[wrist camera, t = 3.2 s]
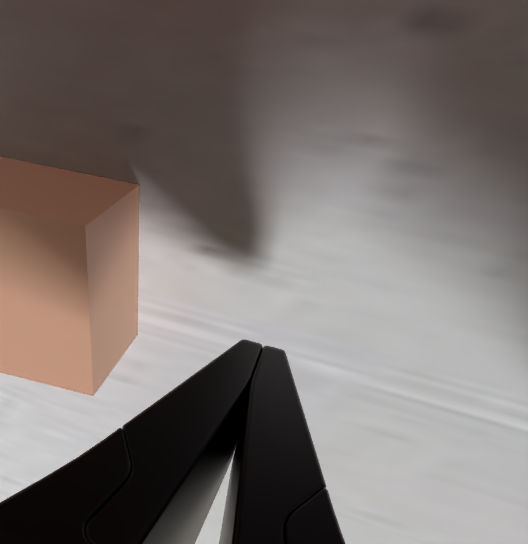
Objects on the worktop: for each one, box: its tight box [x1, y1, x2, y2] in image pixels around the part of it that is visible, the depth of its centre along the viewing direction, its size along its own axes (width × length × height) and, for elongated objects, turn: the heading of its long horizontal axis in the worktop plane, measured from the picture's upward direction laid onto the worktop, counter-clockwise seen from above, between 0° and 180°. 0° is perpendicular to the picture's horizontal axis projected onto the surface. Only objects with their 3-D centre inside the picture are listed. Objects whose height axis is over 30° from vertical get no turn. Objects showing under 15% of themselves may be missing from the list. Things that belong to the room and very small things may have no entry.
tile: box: [0, 156, 140, 396], centre depth 11 cm, size 4×4×2 cm
